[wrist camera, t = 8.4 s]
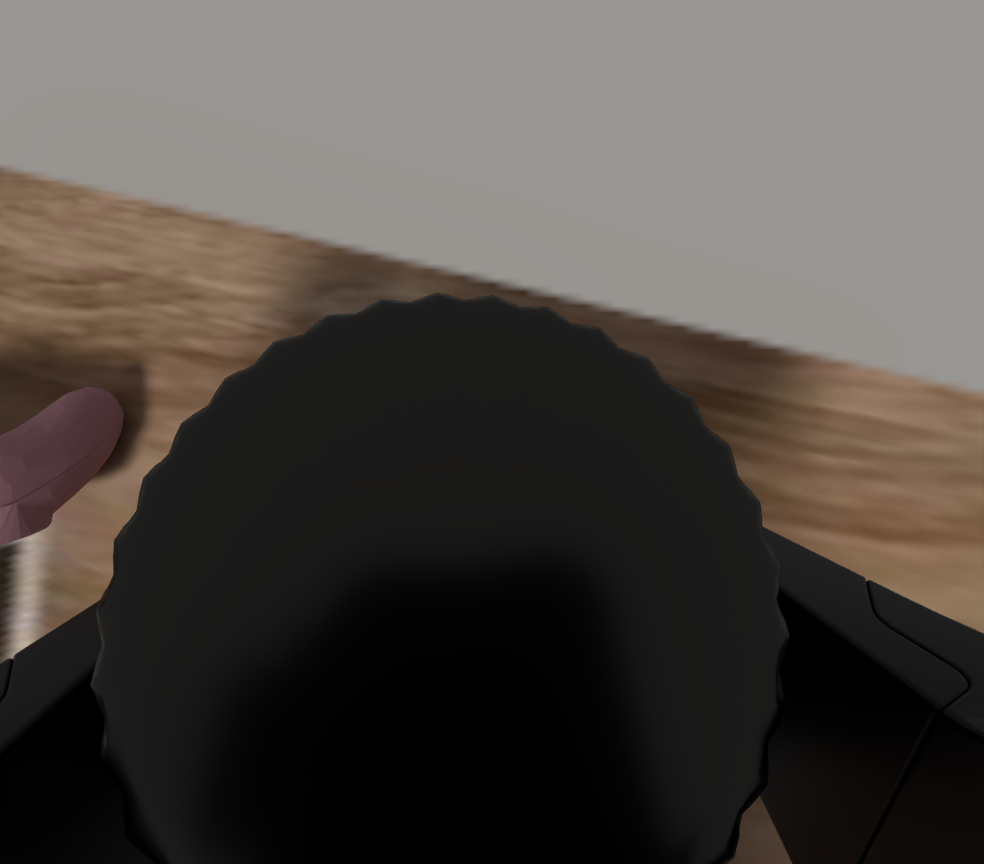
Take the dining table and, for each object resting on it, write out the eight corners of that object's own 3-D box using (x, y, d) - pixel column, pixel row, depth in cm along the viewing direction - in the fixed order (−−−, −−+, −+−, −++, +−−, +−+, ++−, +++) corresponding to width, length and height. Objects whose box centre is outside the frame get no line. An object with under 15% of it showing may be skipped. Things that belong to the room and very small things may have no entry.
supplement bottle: (426, 795, 13) (133, 1826, 2) (309, 562, 15) (-192, 427, 4) (639, 644, 15) (1184, 770, 3) (509, 445, 16) (574, 84, 5)
